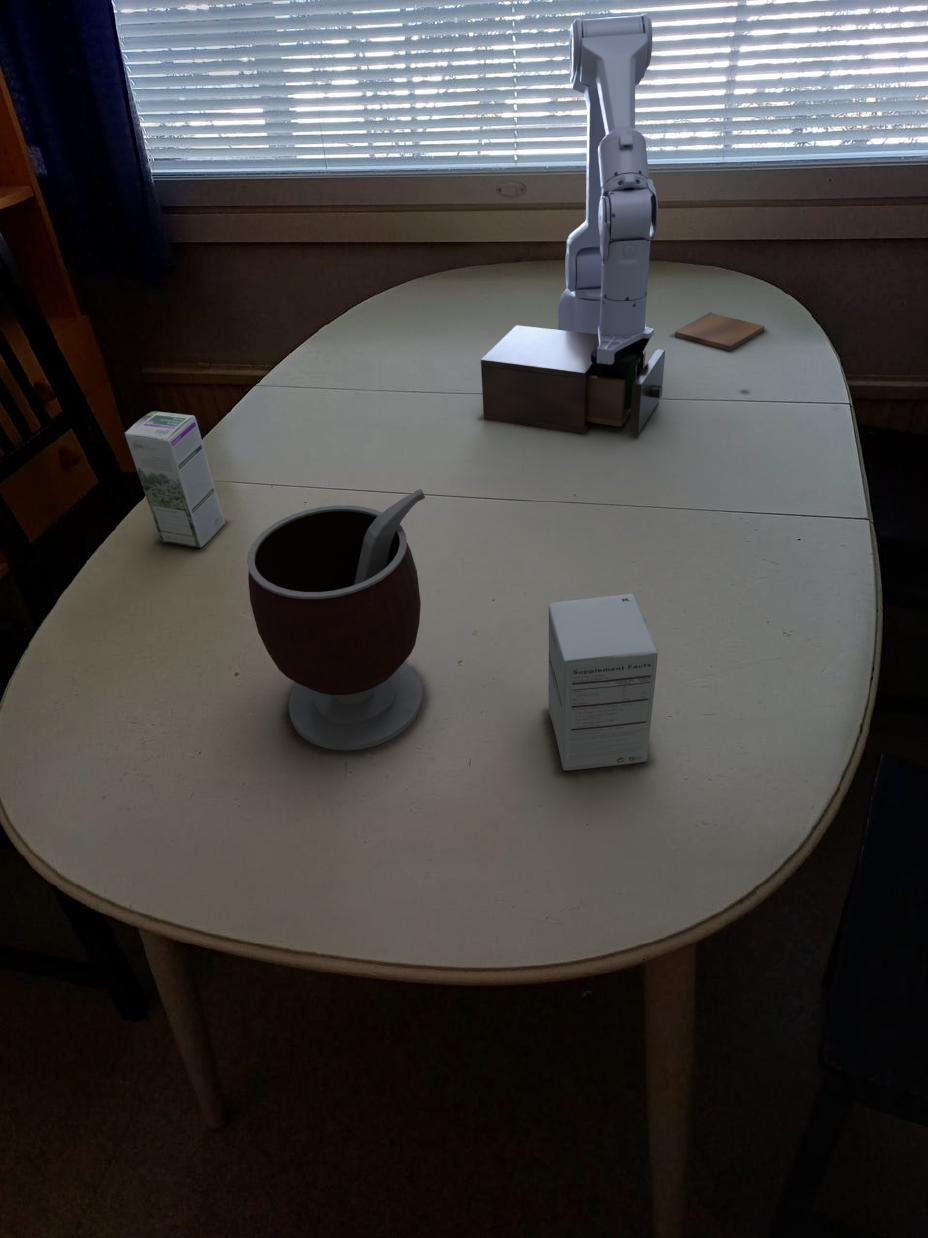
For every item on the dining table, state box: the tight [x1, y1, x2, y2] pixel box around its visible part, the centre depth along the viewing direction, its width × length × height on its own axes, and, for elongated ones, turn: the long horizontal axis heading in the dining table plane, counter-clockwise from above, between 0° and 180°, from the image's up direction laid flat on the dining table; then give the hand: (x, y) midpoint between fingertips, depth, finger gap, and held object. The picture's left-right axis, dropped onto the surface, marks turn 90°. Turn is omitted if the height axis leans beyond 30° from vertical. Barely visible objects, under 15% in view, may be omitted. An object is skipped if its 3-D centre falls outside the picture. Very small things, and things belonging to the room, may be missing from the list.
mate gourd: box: [246, 488, 426, 751], centre depth 77 cm, size 16×14×20 cm
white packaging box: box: [547, 593, 659, 771], centre depth 73 cm, size 7×7×13 cm
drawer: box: [586, 348, 666, 435], centre depth 121 cm, size 15×11×7 cm
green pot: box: [622, 349, 640, 410], centre depth 120 cm, size 5×5×6 cm
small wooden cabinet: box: [480, 324, 599, 435], centre depth 124 cm, size 15×13×9 cm
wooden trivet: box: [674, 312, 765, 352], centre depth 143 cm, size 10×10×1 cm
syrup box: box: [124, 410, 226, 549], centre depth 102 cm, size 6×6×14 cm
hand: (618, 394), depth 121 cm, fingers closed on drawer, green pot, 5 cm apart
